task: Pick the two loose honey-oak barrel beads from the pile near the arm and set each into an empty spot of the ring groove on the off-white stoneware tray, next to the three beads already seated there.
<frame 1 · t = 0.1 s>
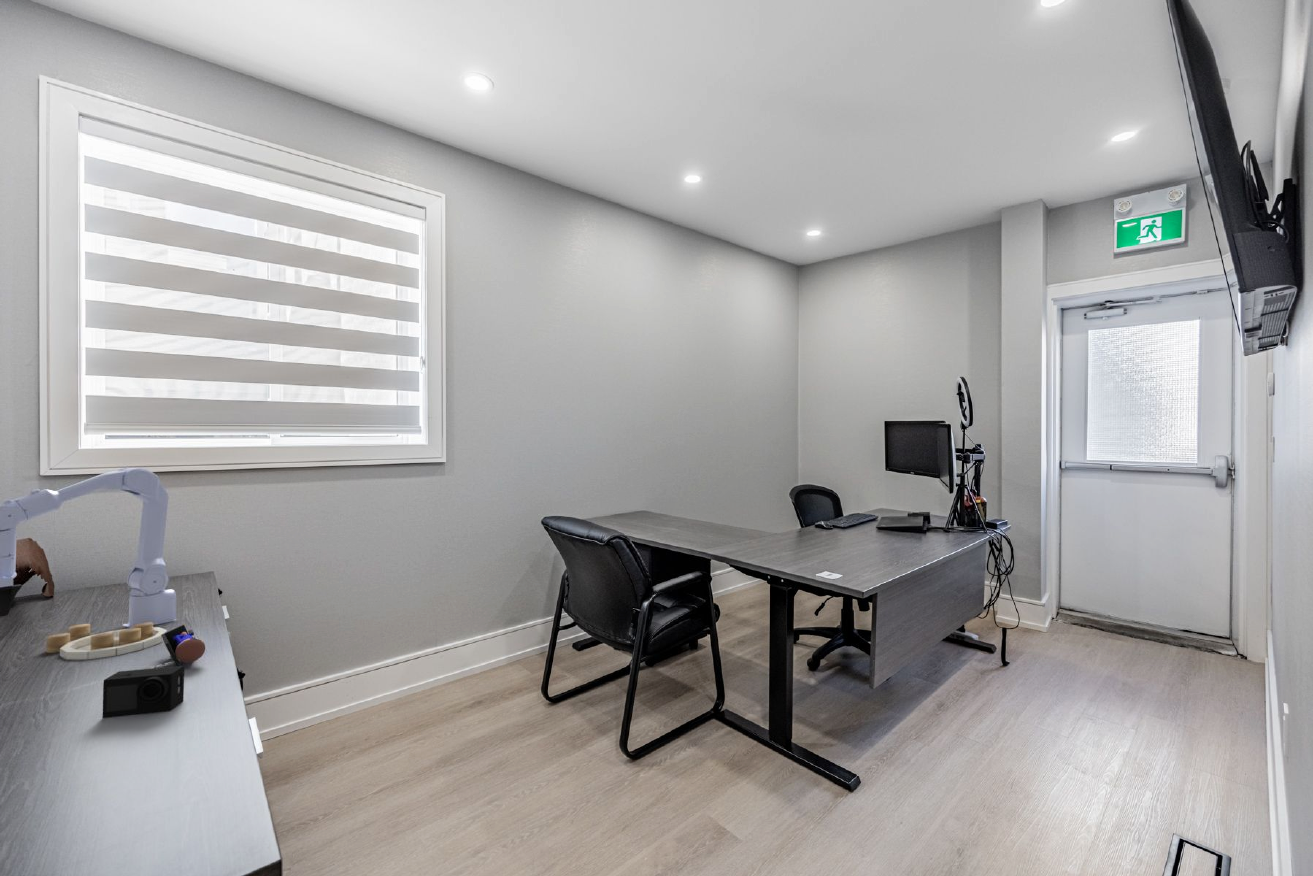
bead seated 1: (101, 652, 129), point 1 cm above the credenza, touching tray
tray: (115, 647, 133), on the credenza
bead seated 3: (142, 640, 136), point 1 cm above the credenza, touching tray
digital camera: (141, 712, 100), on the credenza
character figurine: (182, 663, 124), on the credenza
bead a: (78, 642, 137), on the credenza
bead b: (57, 652, 130), on the credenza
bead seated 2: (129, 647, 132), point 1 cm above the credenza, touching tray
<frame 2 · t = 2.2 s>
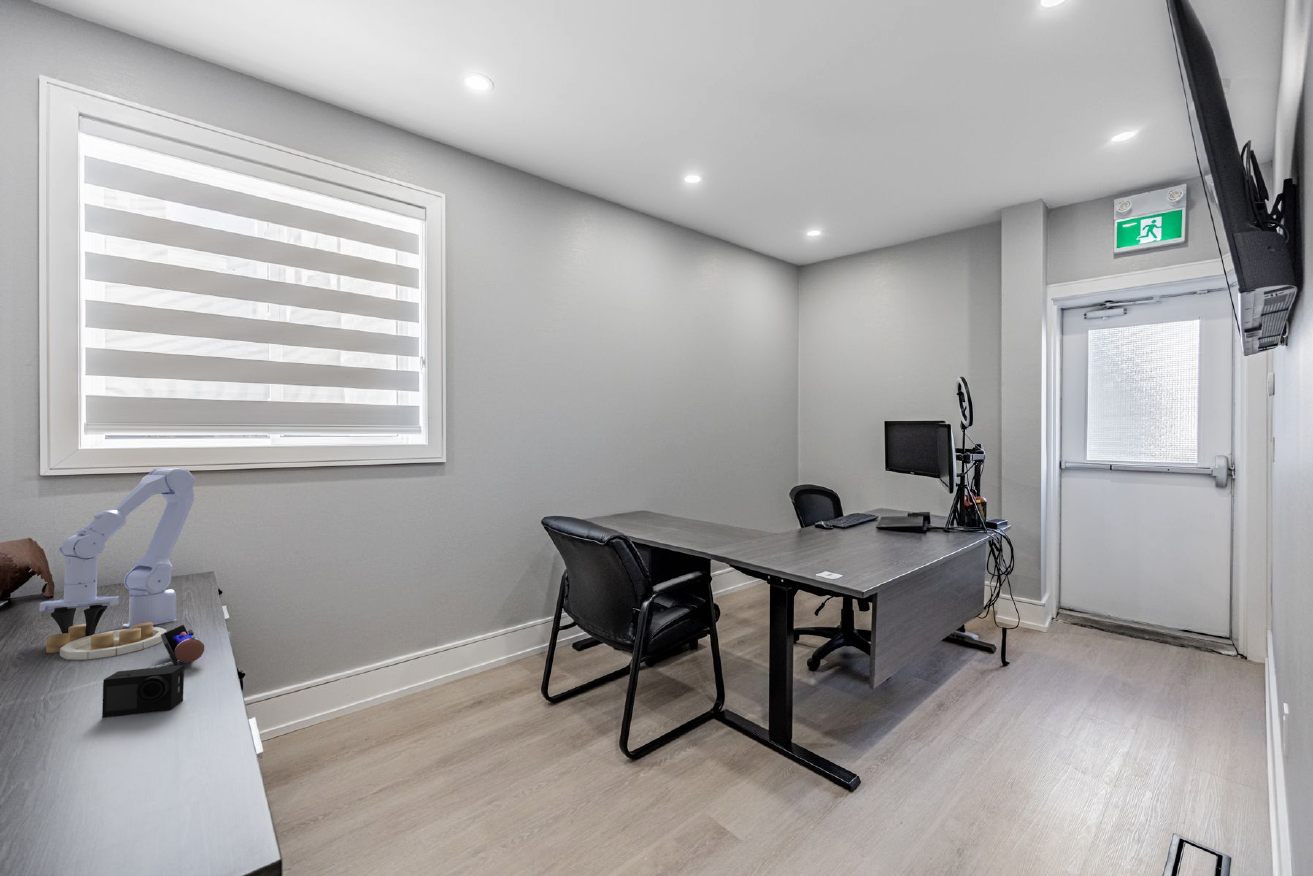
hand: (79, 636, 137), 1 cm above the credenza, fingers closed on bead a, 4 cm apart
bead a: (78, 642, 137), on the credenza, touching gripper
everything else where it was.
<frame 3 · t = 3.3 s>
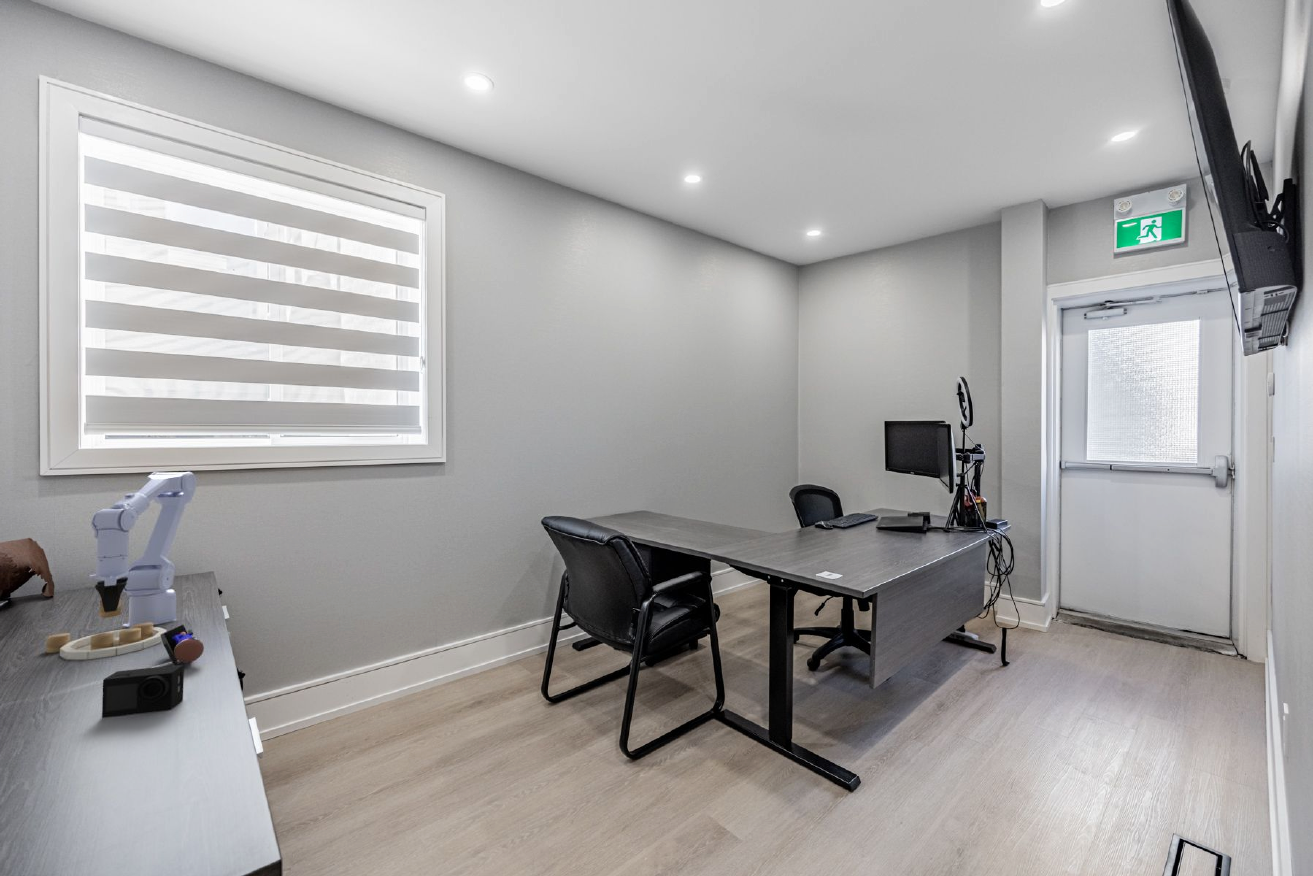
hand: (111, 609, 138), 8 cm above the credenza, fingers closed on bead a, 4 cm apart
bead a: (110, 615, 138), point 7 cm above the credenza, touching gripper
everything else where it was.
when the fingers open (3 cm above the credenza, at t = 4.8 s): bead a drops 1 cm, resting on tray.
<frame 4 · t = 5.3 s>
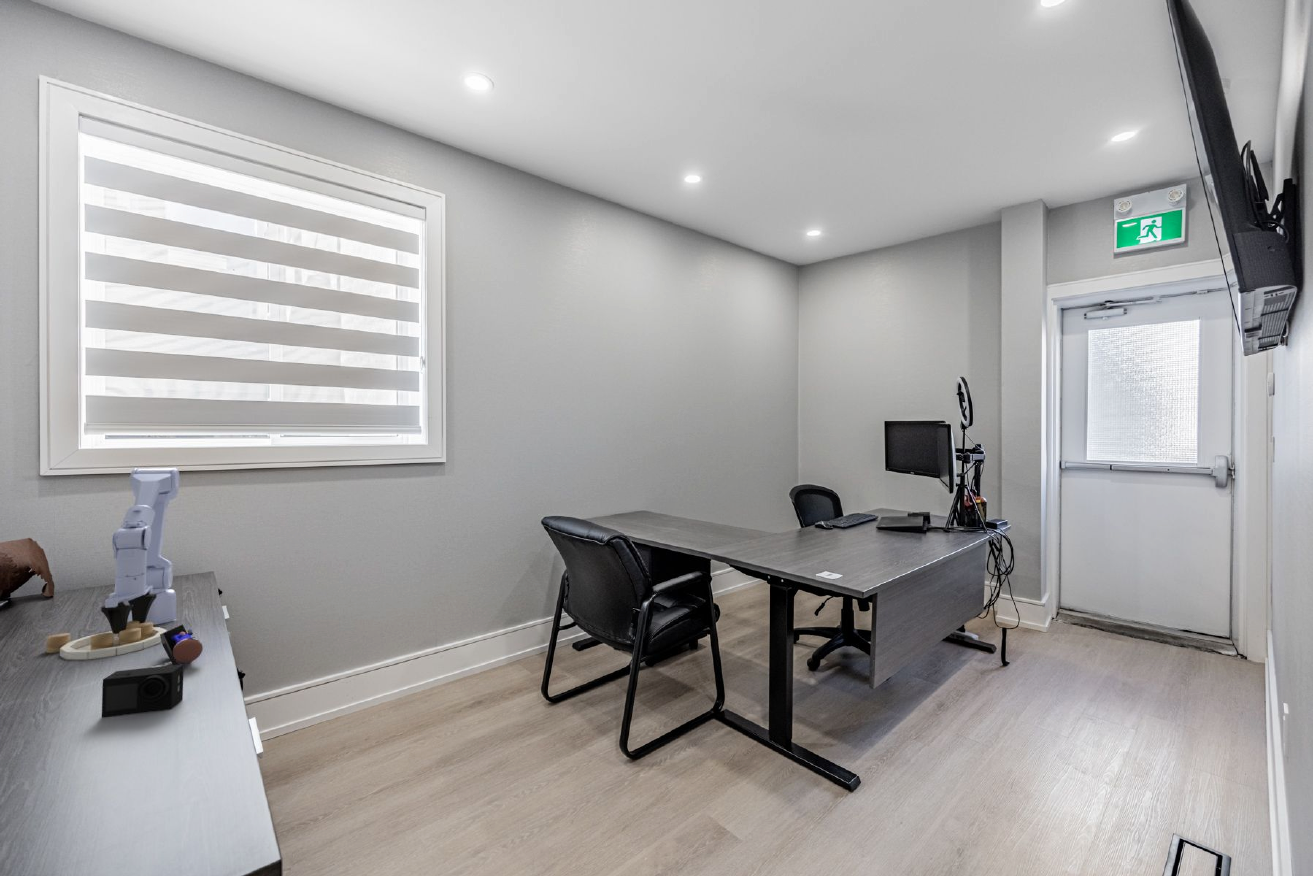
hand: (129, 628, 138), 3 cm above the credenza, fingers open, 7 cm apart
bead a: (128, 638, 138), point 1 cm above the credenza, touching tray
everything else where it was.
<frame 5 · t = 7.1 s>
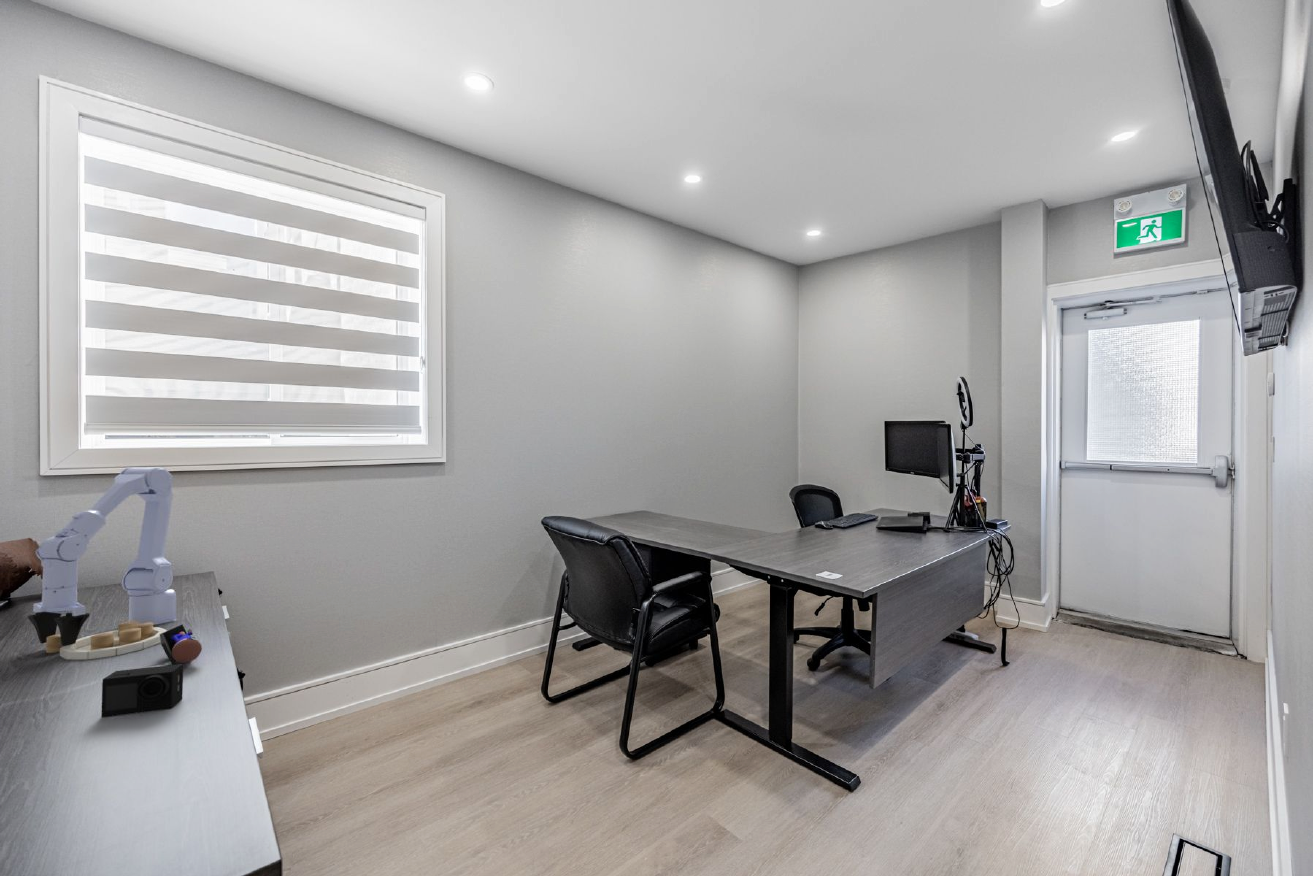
hand: (57, 643, 130), 2 cm above the credenza, fingers open, 7 cm apart
nothing on the credenza moved.
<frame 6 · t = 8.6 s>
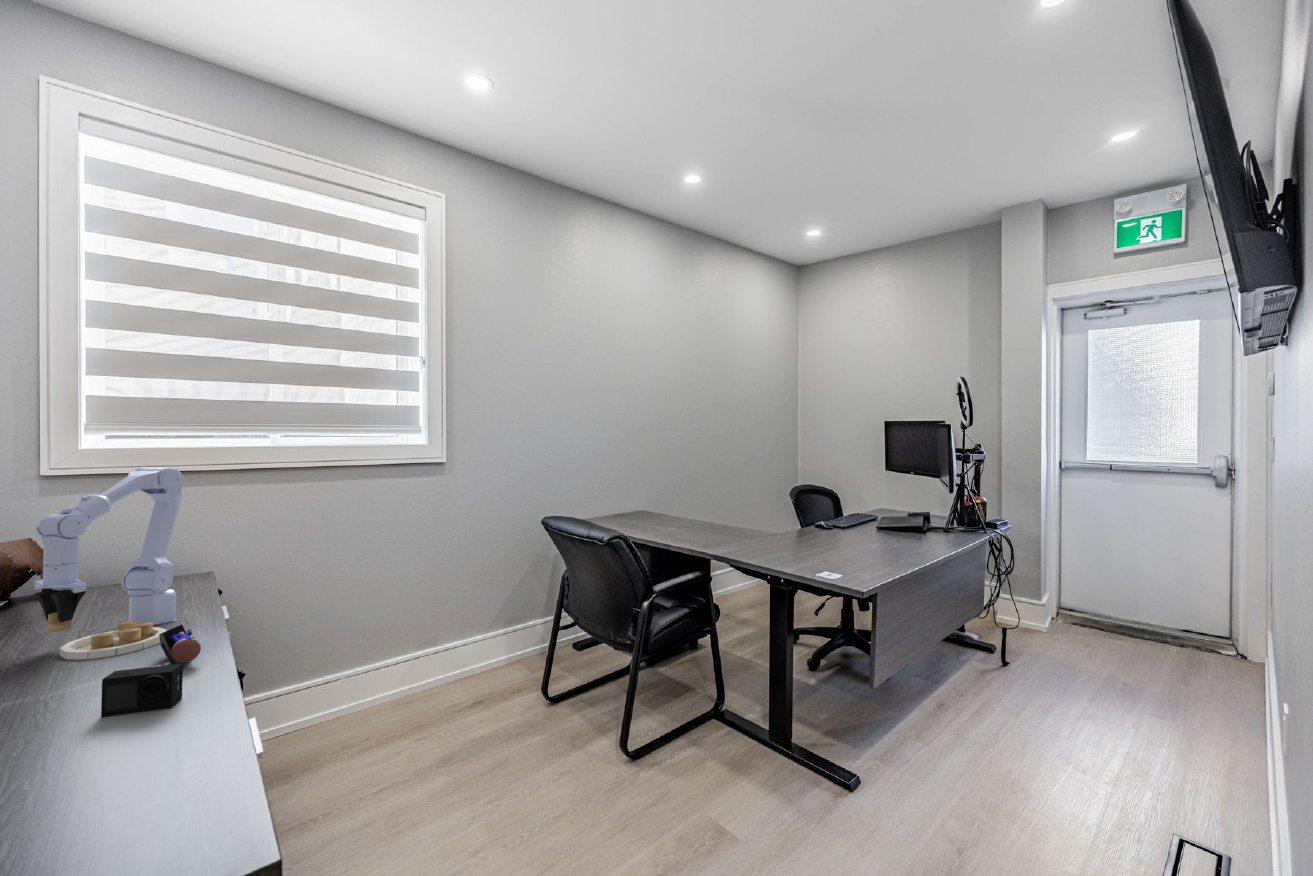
hand: (59, 620, 130), 8 cm above the credenza, fingers closed on bead b, 4 cm apart
bead b: (59, 629, 130), point 5 cm above the credenza, touching gripper
when the fingers open (3 cm above the credenza, at t = 10.4 s): bead b stays where it is, resting on tray.
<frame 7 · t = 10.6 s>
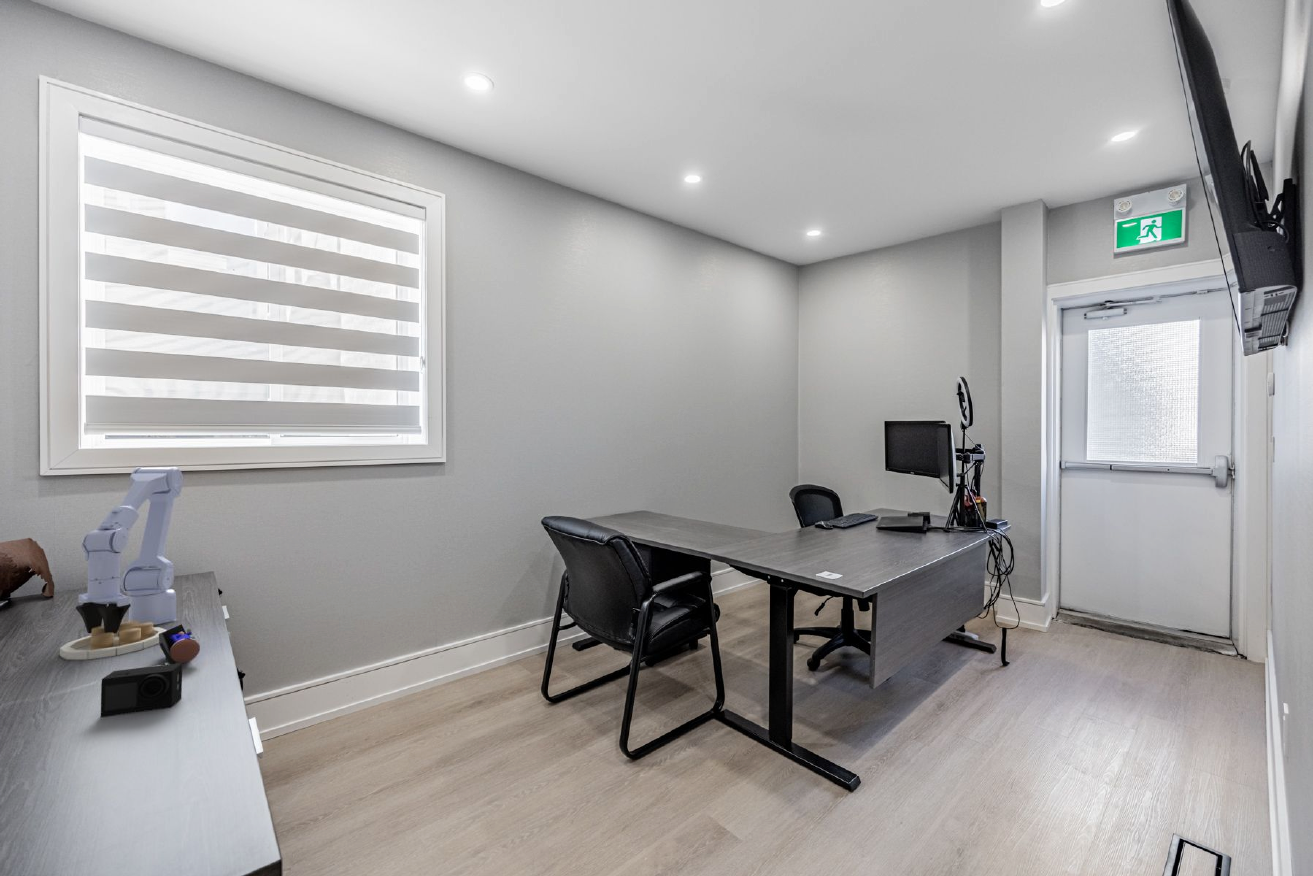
hand: (102, 633, 134), 3 cm above the credenza, fingers open, 6 cm apart
bead b: (102, 643, 134), point 1 cm above the credenza, touching tray
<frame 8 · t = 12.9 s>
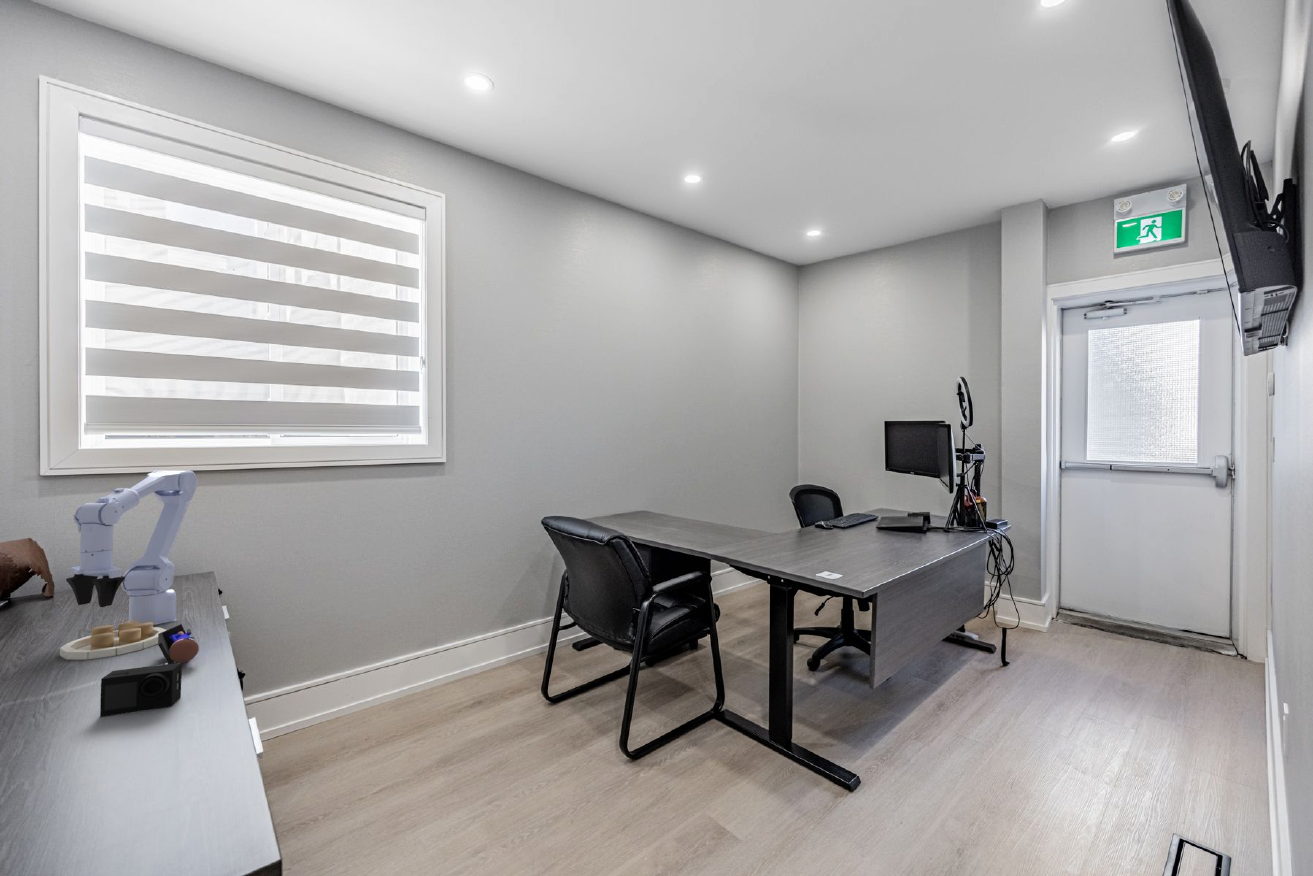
hand: (94, 605, 135), 10 cm above the credenza, fingers open, 7 cm apart
at the end: bead a 4.9 cm from the tray (horizontally); bead b 4.8 cm from the tray (horizontally); bead b point 0.6 cm above the credenza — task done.
